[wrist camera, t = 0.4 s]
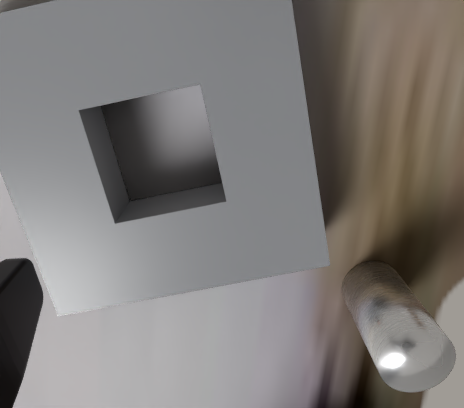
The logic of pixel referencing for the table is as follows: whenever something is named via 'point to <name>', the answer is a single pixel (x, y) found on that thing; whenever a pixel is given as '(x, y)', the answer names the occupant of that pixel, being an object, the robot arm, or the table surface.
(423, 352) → the steel pin
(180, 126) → the table surface
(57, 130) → the hole plate
